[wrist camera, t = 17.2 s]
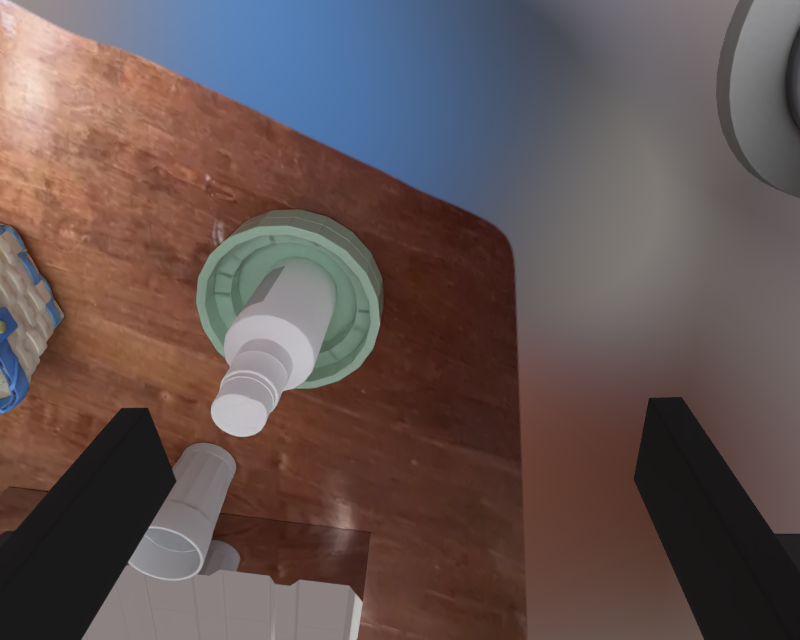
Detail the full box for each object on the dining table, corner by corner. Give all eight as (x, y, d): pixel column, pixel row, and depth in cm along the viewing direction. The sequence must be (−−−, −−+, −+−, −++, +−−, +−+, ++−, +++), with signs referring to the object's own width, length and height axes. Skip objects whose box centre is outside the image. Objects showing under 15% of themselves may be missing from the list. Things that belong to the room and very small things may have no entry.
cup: (208, 426, 56) (158, 514, 46) (257, 471, 59) (220, 563, 49) (160, 455, 59) (102, 545, 48) (209, 496, 62) (164, 590, 51)
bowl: (377, 204, 43) (372, 222, 39) (388, 358, 51) (384, 387, 47) (200, 210, 44) (175, 229, 40) (236, 360, 52) (218, 389, 48)
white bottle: (255, 261, 46) (165, 377, 30) (328, 250, 45) (274, 363, 29) (276, 326, 49) (205, 462, 33) (345, 317, 48) (305, 452, 32)
